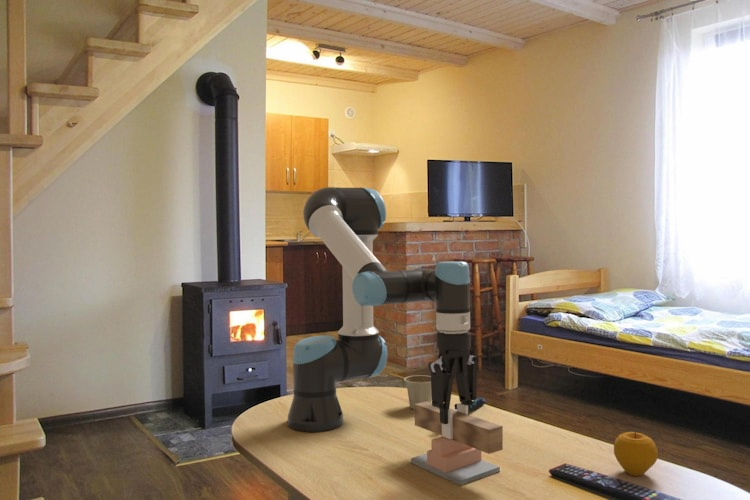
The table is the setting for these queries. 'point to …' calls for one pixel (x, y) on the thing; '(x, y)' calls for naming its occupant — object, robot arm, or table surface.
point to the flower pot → (418, 389)
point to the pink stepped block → (455, 461)
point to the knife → (475, 404)
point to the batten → (462, 428)
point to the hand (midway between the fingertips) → (455, 435)
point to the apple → (635, 452)
